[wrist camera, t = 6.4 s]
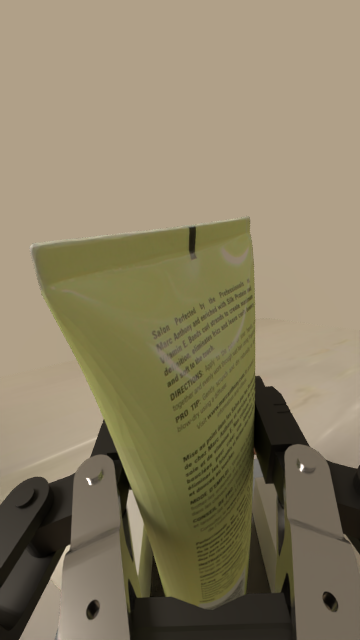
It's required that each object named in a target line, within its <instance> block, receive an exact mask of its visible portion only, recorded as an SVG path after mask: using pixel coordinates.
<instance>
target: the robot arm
mask: <svg viewBox="0 0 360 640" xmlns="http://www.w3.org/2000/svg"><path fill="white" fill-rule="evenodd" d="M254 449H255V452H256V455H257V458H258V462H259V465H260V468H261V471H262V474H263V478H264V481H265V484H274V486H275V489H276V492H277V496H276V552H277V558H276V575H275V593H257V594H245V595H243V596H241V597H239V598H237V599H234V600H232V601H230V602H228V603H226V604H224V605H222V606H219V607H217V608H215V609H213V610H207V609H204V608H201V607H198V606H196V605H193V604H190V603H187V602H185V601H182V600H179V599H177V598H174V597H143V598H142V596H141V590H140V584H139V579H138V575H137V570H136V564H135V558H134V551H133V544H132V536H131V529H130V522H129V515H128V508H127V500H128V494H129V490H132V488H131V486H130V483H129V481H128V478H127V475H126V473H125V470H124V468H123V465H122V462H121V460H120V457H119V455H118V452H117V450H116V447H115V445H114V442H113V440H112V437H111V435H110V432H109V430H108V427H107V425H106V423H105V420H103V423H102V426H101V428H100V431H99V434H98V437H97V440H96V443H95V446H94V448H93V451H92V454H91V456H90V458H89V459H87V460H86V461H84V462H83V463H82V464H81V466H80V467H79V468H78V470H77V471H76V473H74V474H72V475H70V476H68V477H65V478H63V479H60V480H57V481H55V482H52V483H48V482H47V480H46V479H44V478H42V477H33V478H30V479H27V480H25V481H23V482H22V483H20V484H19V485H18V486H16V487H15V488H14V489H13V490H12V491H11V492H10V494H9V495H8V496H7V497H6V499H5V500H4V501H3V502H2V504H1V505H0V640H19V639H20V637H21V635H22V633H23V631H24V629H25V627H26V625H27V623H28V621H29V619H30V617H31V615H32V613H33V611H34V609H35V607H36V605H37V603H38V601H39V599H40V597H41V595H42V593H43V592H44V590H45V588H46V586H47V584H48V582H49V580H50V578H51V576H52V574H53V572H54V570H55V568H56V566H57V564H58V562H59V560H60V558H61V556H62V554H63V552H64V550H65V548H66V547H67V546H68V545H70V549H69V551H68V552H67V553H66V554H65V557H64V561H63V568H62V582H61V597H60V612H59V628H58V640H360V572H359V568H358V564H357V560H356V556H355V552H354V550H353V547H352V545H351V543H352V544H353V546H354V547H355V549H356V550H357V551H358V553H359V554H360V465H359V467H358V469H355V468H351V467H347V466H343V465H339V464H336V463H332V462H330V461H327V460H326V459H325V458H324V457H323V456H322V455H321V454H320V453H319V452H317V451H316V450H315V449H313V448H311V447H310V446H309V444H308V443H307V441H306V439H305V437H304V435H303V433H302V432H301V430H300V428H299V426H298V424H297V422H296V420H295V419H294V417H293V415H292V413H291V412H290V409H289V408H288V406H287V405H286V402H285V400H284V398H283V396H282V395H281V393H279V392H278V391H277V390H276V389H275V388H274V387H273V386H270V387H265V385H264V383H263V381H262V379H261V377H260V376H255V418H254ZM343 534H345V535H346V536H347V537H348V539H349V540H350V542H351V543H350V542H349V541H348V540H346V539H345V537H344V535H343Z"/></svg>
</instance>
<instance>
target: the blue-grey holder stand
mask: <svg viewBox="0 0 360 640" xmlns="http://www.w3.org/2000/svg"><path fill="white" fill-rule="evenodd" d="M276 496H277V492H276V489H275V486H274V484H265V481H264V478H263V474H262V471H261V468H260V465H259V462H258V459H254V469H253V496H252V515H253V519H254V523H255V527H256V532H257V536H258V540H259V544H260V548H261V553H262V557H263V561H264V565H265V570H266V574H267V578H268V582H269V586H270V591H271V593H275V575H276V558H277V552H276ZM127 508H128V515H129V522H130V529H131V536H132V544H133V551H134V558H135V564H136V570H137V575H138V579H139V584H140V590H141V596H142V598H143V597H150V589H151V575H152V562H153V551H152V547H151V544H150V541H149V538H148V535H147V532H146V529H145V526H144V523H143V520H142V517H141V514H140V511H139V508H138V505H137V503H136V500H135V497H134V494H133V491H132V490H129V494H128V500H127ZM343 535H344V537H345V539H346V540H348V541H349V542H350V540H349V539H348V537H347V536H346V535H345V534H343ZM350 543H351V542H350ZM351 545H352V547H353V550H354V552H355V556H356V560H357V564H358V568H359V572H360V554H359V553H358V551H357V550H356V549H355V547H354V546H353V544H352V543H351ZM69 549H70V545H68V546H67V547H66V548H65V550H64V552H63V554H62V556H61V558H60V560H59V562H58V564H57V566H56V568H55V570H54V572H53V574H52V576H51V578H50V579H51V580H52V581H53V583H54V584H55V585H56V586H57V588H58V589H59V590H60V591H61V582H62V568H63V561H64V557H65V554H66V553H67V552H68V551H69ZM58 628H59V626H58ZM55 640H58V630H57V633H56V637H55Z"/></svg>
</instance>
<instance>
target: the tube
mask: <svg viewBox="0 0 360 640" xmlns="http://www.w3.org/2000/svg"><path fill="white" fill-rule="evenodd" d="M30 252H31V258H32V261H33V265H34V268H35V272H36V276H37V279H38V283H39V286H40V290H41V293H42V296H43V297H44V299H45V301H46V303H47V305H48V307H49V309H50V311H51V312H52V314H53V316H54V318H55V320H56V322H57V323H58V325H59V327H60V329H61V331H62V333H63V335H64V337H65V338H66V340H67V342H68V344H69V345H70V347H71V349H72V351H73V353H74V355H75V357H76V359H77V361H78V363H79V365H80V367H81V369H82V371H83V373H84V375H85V378H86V380H87V382H88V384H89V386H90V388H91V390H92V392H93V395H94V397H95V399H96V401H97V404H98V406H99V408H100V411H101V413H102V415H103V418H104V420H105V423H106V425H107V427H108V430H109V432H110V435H111V437H112V440H113V442H114V445H115V447H116V450H117V452H118V455H119V457H120V460H121V462H122V465H123V468H124V470H125V473H126V475H127V478H128V481H129V483H130V486H131V488H132V491H133V494H134V497H135V500H136V503H137V505H138V508H139V511H140V514H141V517H142V520H143V523H144V526H145V529H146V532H147V535H148V538H149V541H150V544H151V547H152V551H153V554H154V558H155V561H156V565H157V568H158V572H159V575H160V579H161V583H162V586H163V590H164V594H165V597H174V598H177V599H179V600H182V601H185V602H187V603H190V604H193V605H196V606H198V607H201V608H204V609H207V610H213V609H215V608H217V607H219V606H222V605H224V604H226V603H228V602H230V601H232V600H234V599H237V598H239V597H241V596H243V595H245V594H246V589H247V579H248V566H249V552H250V537H251V517H252V496H253V469H254V418H255V293H254V292H255V291H254V290H255V288H254V261H253V247H252V240H251V235H250V217H249V216H246V217H241V218H236V219H230V220H223V221H217V222H209V223H201V224H195V225H187V226H179V227H173V228H165V229H155V230H147V231H137V232H129V233H122V234H113V235H104V236H94V237H87V238H76V239H66V240H58V241H49V242H42V243H33V244H32V245H31V246H30Z"/></svg>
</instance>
